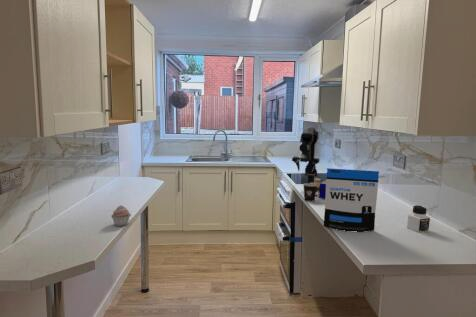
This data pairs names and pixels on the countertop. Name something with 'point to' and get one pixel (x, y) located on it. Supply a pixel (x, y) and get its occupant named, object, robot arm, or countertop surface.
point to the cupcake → (121, 216)
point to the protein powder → (351, 199)
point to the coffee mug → (310, 191)
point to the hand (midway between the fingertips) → (305, 171)
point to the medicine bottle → (418, 219)
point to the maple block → (317, 181)
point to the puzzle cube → (323, 186)
